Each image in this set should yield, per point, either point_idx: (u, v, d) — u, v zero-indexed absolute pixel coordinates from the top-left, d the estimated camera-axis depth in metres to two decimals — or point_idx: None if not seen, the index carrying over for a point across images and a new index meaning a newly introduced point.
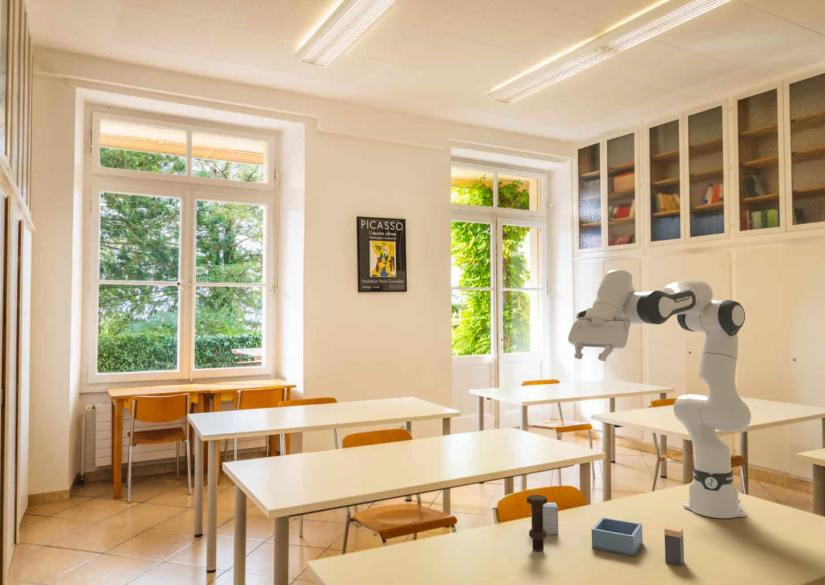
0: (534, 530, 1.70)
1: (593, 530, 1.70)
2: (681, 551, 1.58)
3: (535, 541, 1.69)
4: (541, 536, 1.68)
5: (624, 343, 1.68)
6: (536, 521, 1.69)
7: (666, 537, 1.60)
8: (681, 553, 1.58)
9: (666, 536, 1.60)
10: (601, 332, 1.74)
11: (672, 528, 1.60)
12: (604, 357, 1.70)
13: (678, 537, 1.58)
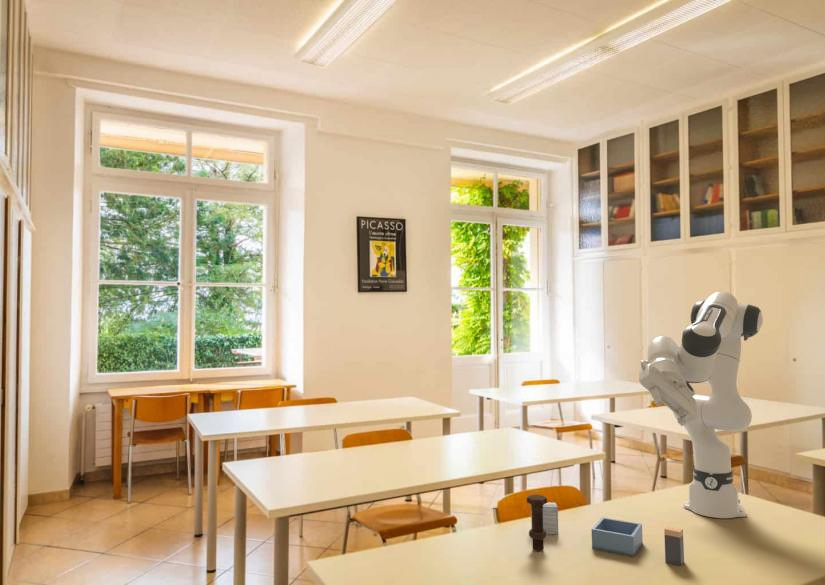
0: (534, 530, 1.70)
1: (593, 530, 1.70)
2: (681, 551, 1.58)
3: (536, 541, 1.69)
4: (541, 536, 1.68)
5: (646, 375, 1.61)
6: (536, 521, 1.69)
7: (666, 537, 1.60)
8: (681, 553, 1.58)
9: (666, 536, 1.60)
10: None
11: (672, 528, 1.61)
12: (656, 399, 1.59)
13: (678, 537, 1.58)
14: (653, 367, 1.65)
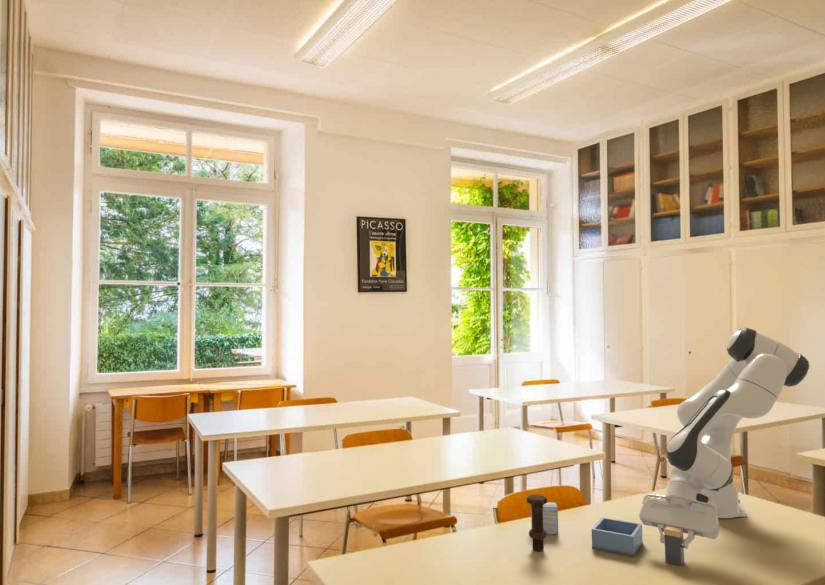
0: (534, 530, 1.70)
1: (593, 530, 1.70)
2: (681, 551, 1.58)
3: (535, 541, 1.69)
4: (541, 536, 1.68)
5: None
6: (536, 521, 1.69)
7: (666, 537, 1.60)
8: (681, 553, 1.58)
9: (666, 536, 1.60)
10: None
11: (672, 528, 1.60)
12: None
13: (678, 537, 1.58)
14: (650, 500, 1.70)
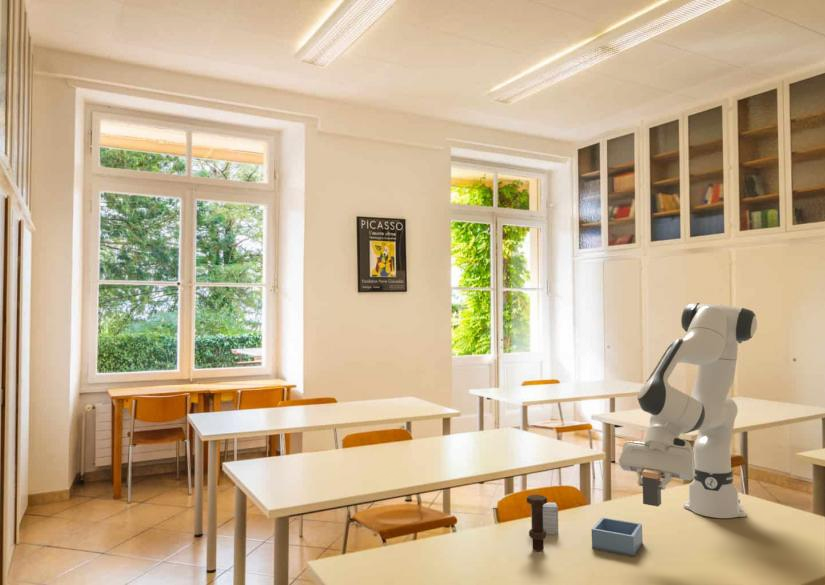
0: (534, 530, 1.70)
1: (593, 530, 1.70)
2: (658, 492, 1.63)
3: (535, 541, 1.69)
4: (541, 536, 1.68)
5: None
6: (536, 521, 1.69)
7: (644, 479, 1.65)
8: (658, 494, 1.63)
9: (644, 478, 1.65)
10: None
11: (650, 471, 1.65)
12: None
13: (655, 478, 1.63)
14: (629, 447, 1.75)
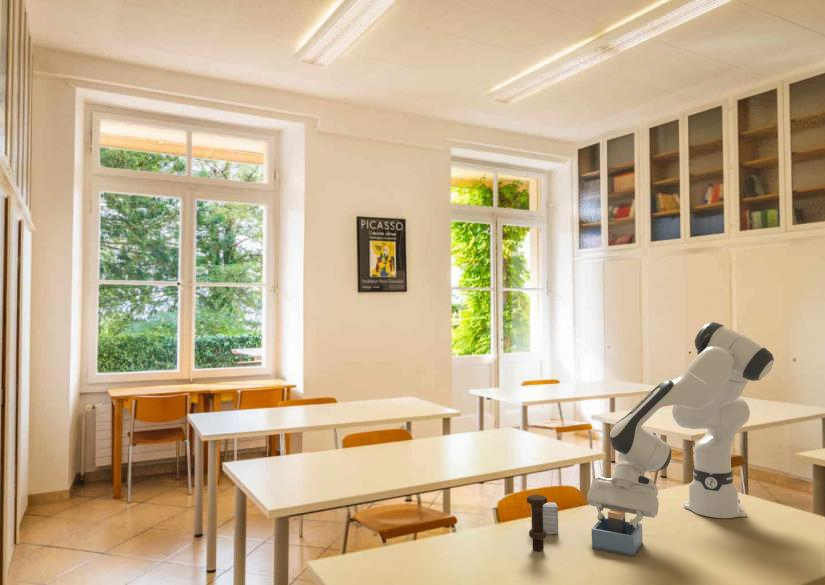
0: (534, 530, 1.70)
1: (593, 530, 1.70)
2: (622, 532, 1.70)
3: (535, 541, 1.69)
4: (541, 536, 1.68)
5: None
6: (536, 521, 1.69)
7: (609, 519, 1.72)
8: None
9: (609, 518, 1.72)
10: None
11: (615, 511, 1.72)
12: None
13: (620, 519, 1.70)
14: (597, 483, 1.82)
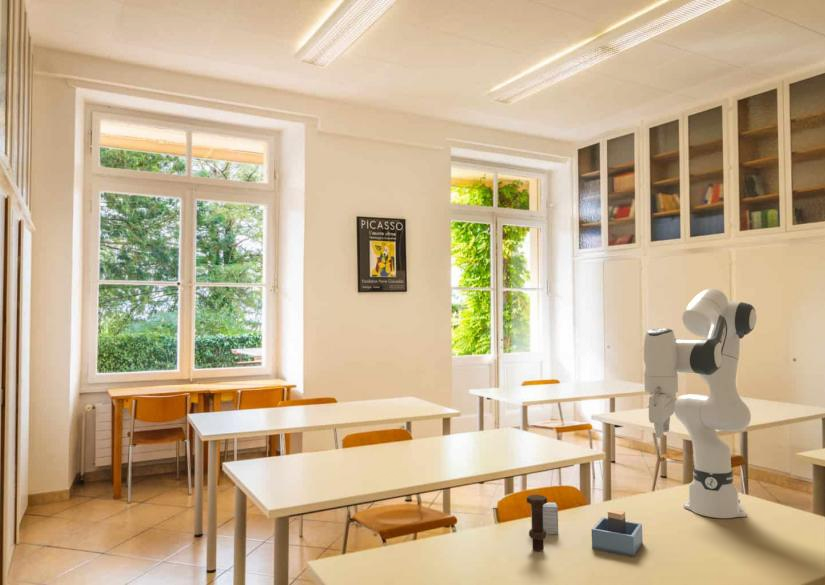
0: (534, 530, 1.70)
1: (593, 530, 1.70)
2: (622, 532, 1.70)
3: (536, 541, 1.69)
4: (541, 536, 1.68)
5: (658, 418, 1.59)
6: (536, 521, 1.69)
7: (609, 519, 1.72)
8: None
9: (609, 518, 1.72)
10: None
11: (615, 511, 1.72)
12: (659, 434, 1.64)
13: (620, 519, 1.70)
14: (663, 401, 1.61)
